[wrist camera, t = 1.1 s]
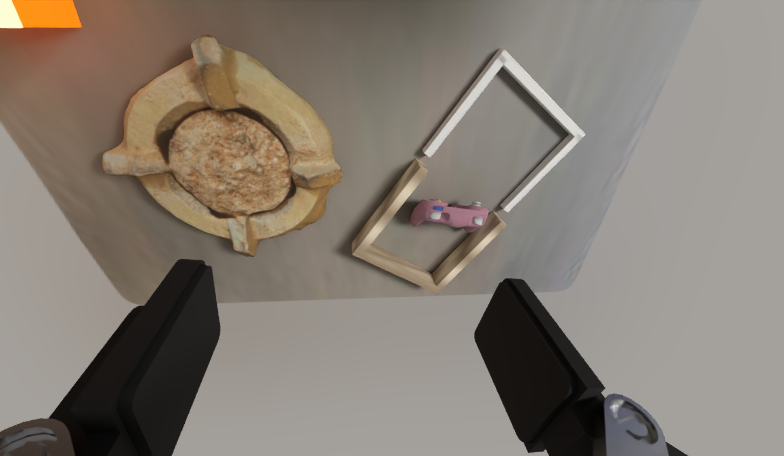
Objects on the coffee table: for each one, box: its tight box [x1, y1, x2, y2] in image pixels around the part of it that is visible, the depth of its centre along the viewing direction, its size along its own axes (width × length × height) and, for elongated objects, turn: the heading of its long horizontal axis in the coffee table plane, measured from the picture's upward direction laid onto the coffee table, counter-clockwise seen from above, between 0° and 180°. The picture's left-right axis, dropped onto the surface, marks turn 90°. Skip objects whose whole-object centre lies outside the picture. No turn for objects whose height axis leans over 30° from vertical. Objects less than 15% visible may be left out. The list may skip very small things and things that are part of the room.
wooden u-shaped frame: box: [352, 159, 507, 294], centre depth 43 cm, size 15×16×3 cm
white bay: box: [422, 49, 586, 212], centre depth 38 cm, size 14×16×1 cm
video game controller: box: [410, 199, 489, 233], centre depth 41 cm, size 10×5×7 cm, turn 78°
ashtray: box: [102, 35, 343, 257], centre depth 34 cm, size 24×24×5 cm
